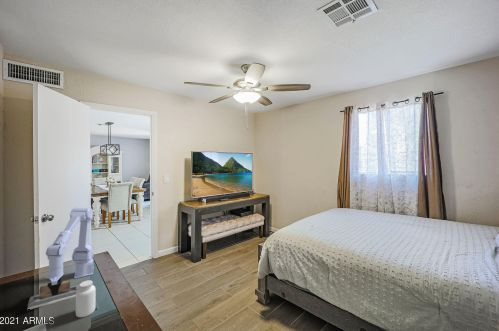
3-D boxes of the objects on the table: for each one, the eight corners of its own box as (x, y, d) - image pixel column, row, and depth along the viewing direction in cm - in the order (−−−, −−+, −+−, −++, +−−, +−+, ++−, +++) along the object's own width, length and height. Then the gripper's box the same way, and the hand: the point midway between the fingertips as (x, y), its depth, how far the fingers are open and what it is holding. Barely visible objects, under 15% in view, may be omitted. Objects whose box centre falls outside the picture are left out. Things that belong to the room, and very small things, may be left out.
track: (79, 287, 123) (79, 283, 123) (79, 295, 117) (79, 290, 117) (31, 300, 111) (31, 295, 111) (27, 310, 105) (27, 304, 105)
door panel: (70, 291, 119) (70, 279, 118) (69, 294, 117) (69, 282, 116) (40, 299, 111) (40, 286, 111) (39, 302, 109) (39, 289, 109)
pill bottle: (82, 306, 110) (83, 278, 109) (98, 306, 110) (99, 278, 110) (71, 318, 102) (71, 288, 101) (88, 317, 103) (89, 288, 102)
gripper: (48, 262, 116) (47, 285, 117) (43, 275, 105) (43, 301, 106) (64, 259, 121) (64, 281, 121) (62, 271, 109) (62, 296, 110)
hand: (55, 290), depth 114 cm, fingers open, 7 cm apart
